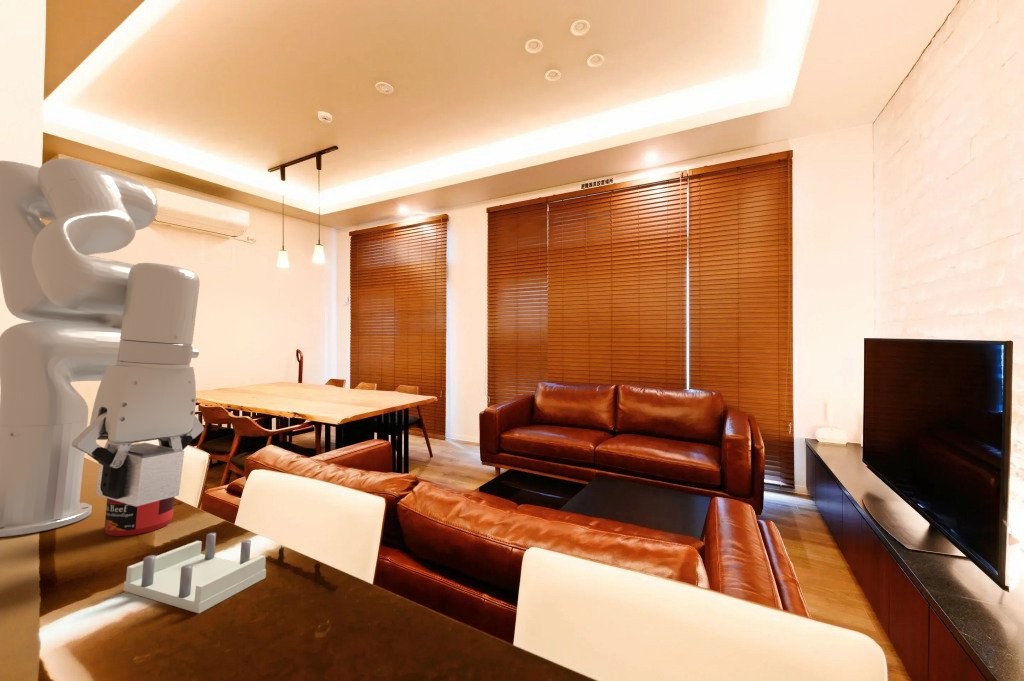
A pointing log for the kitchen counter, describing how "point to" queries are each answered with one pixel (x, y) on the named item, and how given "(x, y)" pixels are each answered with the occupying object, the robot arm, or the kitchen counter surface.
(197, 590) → the tray
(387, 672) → the kitchen counter surface
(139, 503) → the box
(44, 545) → the kitchen counter surface
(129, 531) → the canned food
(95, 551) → the kitchen counter surface
